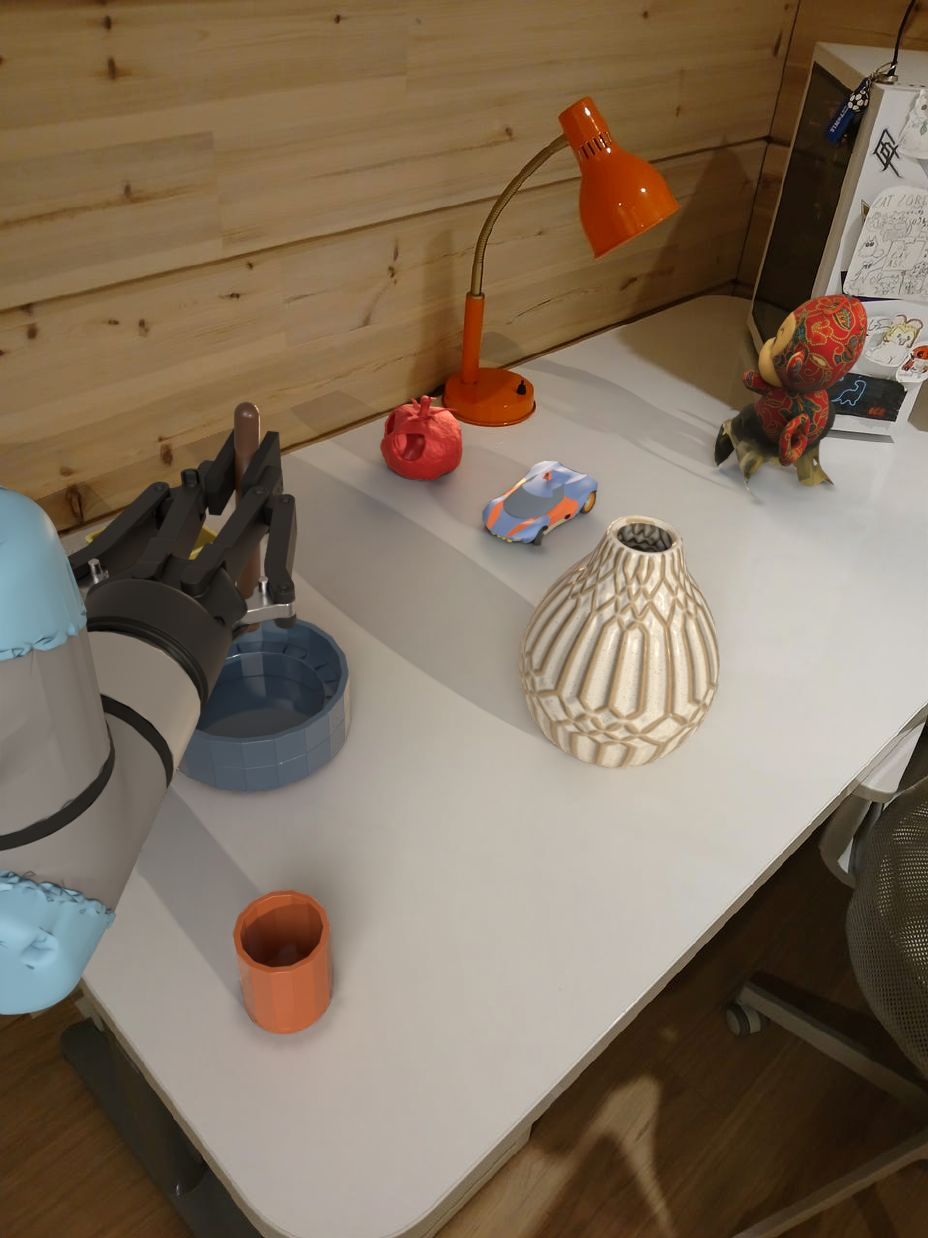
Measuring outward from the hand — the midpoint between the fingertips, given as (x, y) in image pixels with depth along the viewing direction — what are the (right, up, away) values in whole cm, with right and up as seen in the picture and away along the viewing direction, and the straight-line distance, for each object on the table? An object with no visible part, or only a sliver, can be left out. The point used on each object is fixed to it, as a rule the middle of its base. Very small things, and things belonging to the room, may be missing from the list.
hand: (258, 448), depth 64 cm
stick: (-1, -12, +3) cm, 13 cm away
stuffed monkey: (+51, +5, +52) cm, 73 cm away
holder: (+2, -36, -3) cm, 36 cm away
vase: (+26, -21, +18) cm, 38 cm away
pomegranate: (+9, +7, +51) cm, 52 cm away
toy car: (+22, 0, +43) cm, 48 cm away
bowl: (-3, -20, +16) cm, 26 cm away
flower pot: (-14, -11, +26) cm, 32 cm away
